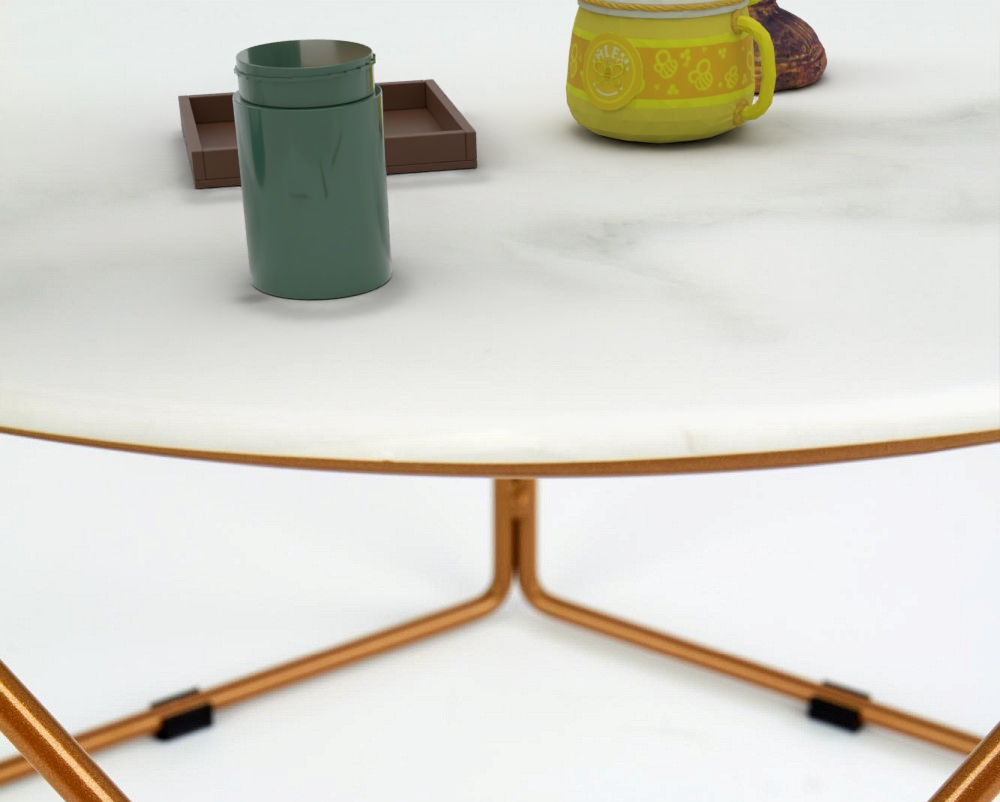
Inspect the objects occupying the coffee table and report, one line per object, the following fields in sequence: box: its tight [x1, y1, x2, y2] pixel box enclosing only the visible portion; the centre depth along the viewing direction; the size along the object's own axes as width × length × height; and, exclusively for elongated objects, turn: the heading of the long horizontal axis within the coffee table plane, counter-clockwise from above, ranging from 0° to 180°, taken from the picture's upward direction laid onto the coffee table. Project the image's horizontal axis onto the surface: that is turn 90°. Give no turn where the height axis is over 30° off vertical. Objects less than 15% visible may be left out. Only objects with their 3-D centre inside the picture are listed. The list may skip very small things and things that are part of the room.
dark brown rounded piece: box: [747, 0, 828, 94], centre depth 109 cm, size 12×12×7 cm
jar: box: [233, 38, 393, 300], centre depth 75 cm, size 6×6×10 cm
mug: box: [565, 0, 776, 144], centre depth 95 cm, size 13×11×12 cm
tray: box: [177, 78, 478, 189], centre depth 97 cm, size 15×13×2 cm
